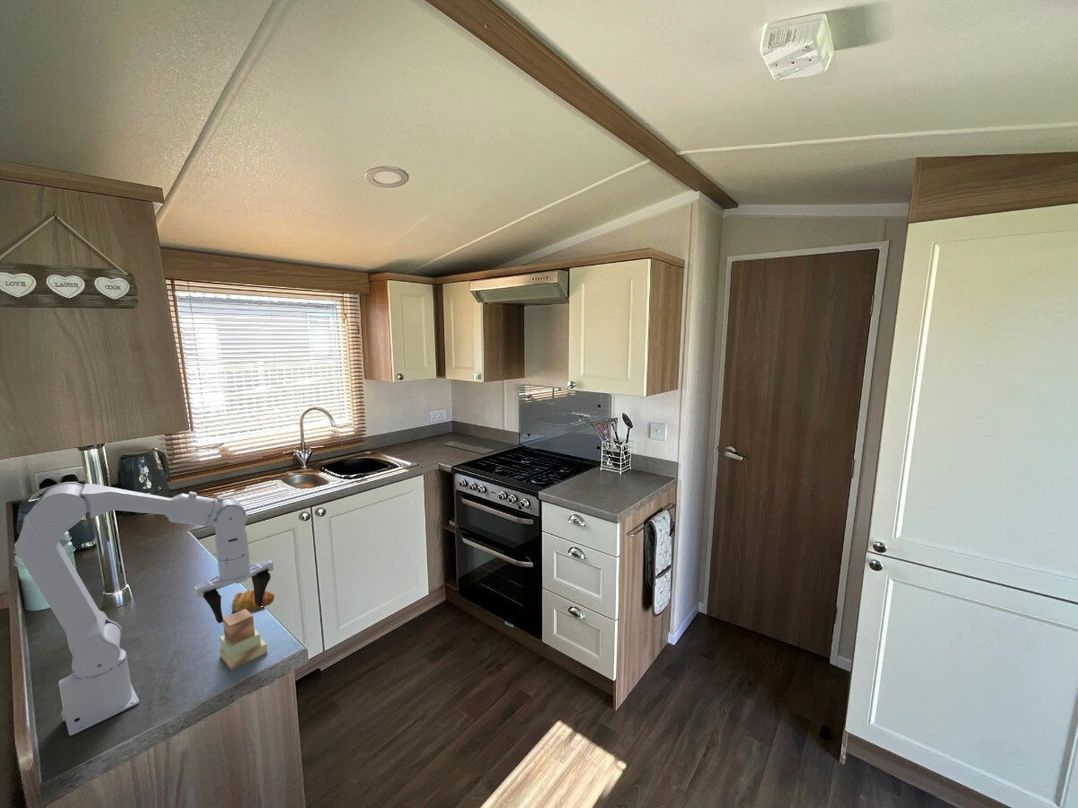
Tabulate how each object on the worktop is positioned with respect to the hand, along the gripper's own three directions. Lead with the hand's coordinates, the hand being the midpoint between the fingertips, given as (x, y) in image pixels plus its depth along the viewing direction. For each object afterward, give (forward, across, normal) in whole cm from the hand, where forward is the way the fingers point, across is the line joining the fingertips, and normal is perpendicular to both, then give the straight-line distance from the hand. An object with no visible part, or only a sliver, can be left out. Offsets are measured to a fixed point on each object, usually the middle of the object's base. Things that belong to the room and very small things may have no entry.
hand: (239, 612), depth 100 cm
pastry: (+10, +8, +20) cm, 24 cm away
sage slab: (+8, 0, 0) cm, 8 cm away
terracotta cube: (+5, 0, 0) cm, 5 cm away
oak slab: (+10, 0, 0) cm, 10 cm away
